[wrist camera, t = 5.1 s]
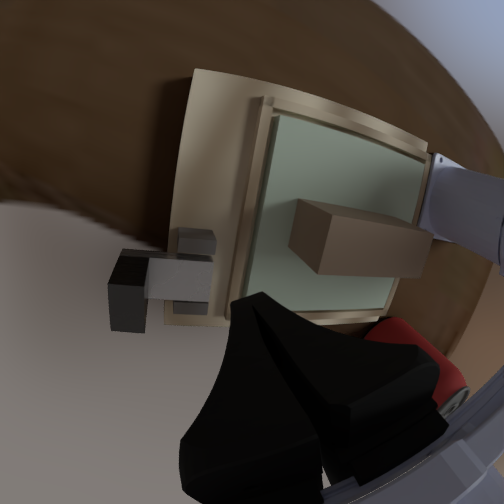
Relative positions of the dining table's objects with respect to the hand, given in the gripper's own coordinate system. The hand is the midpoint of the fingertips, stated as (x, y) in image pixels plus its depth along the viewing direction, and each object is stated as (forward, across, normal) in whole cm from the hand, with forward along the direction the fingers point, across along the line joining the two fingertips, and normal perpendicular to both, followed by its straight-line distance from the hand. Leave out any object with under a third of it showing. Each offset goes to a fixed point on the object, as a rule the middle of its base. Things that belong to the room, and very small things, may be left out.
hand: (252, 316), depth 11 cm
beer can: (+10, -13, +16) cm, 23 cm away
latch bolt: (+6, +3, 0) cm, 7 cm away
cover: (+7, -8, +1) cm, 11 cm away
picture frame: (+9, -6, 0) cm, 11 cm away
